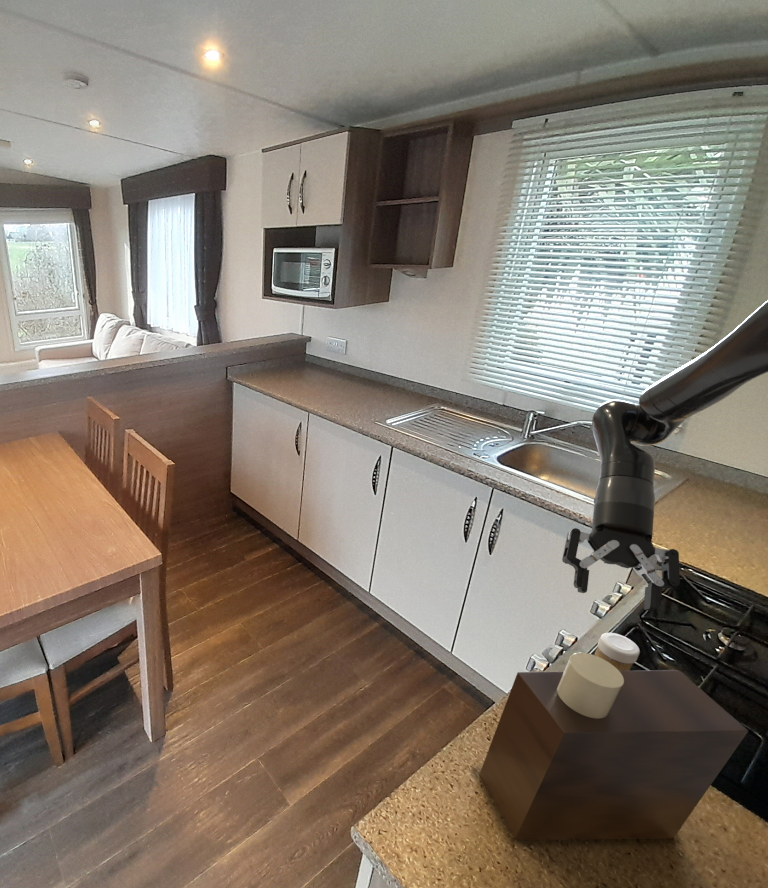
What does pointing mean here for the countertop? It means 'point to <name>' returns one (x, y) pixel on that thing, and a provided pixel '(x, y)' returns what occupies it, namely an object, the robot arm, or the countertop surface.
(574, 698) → the cream squat cylinder
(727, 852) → the countertop surface
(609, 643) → the sprinkles bottle
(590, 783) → the block
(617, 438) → the robot arm
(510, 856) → the countertop surface
